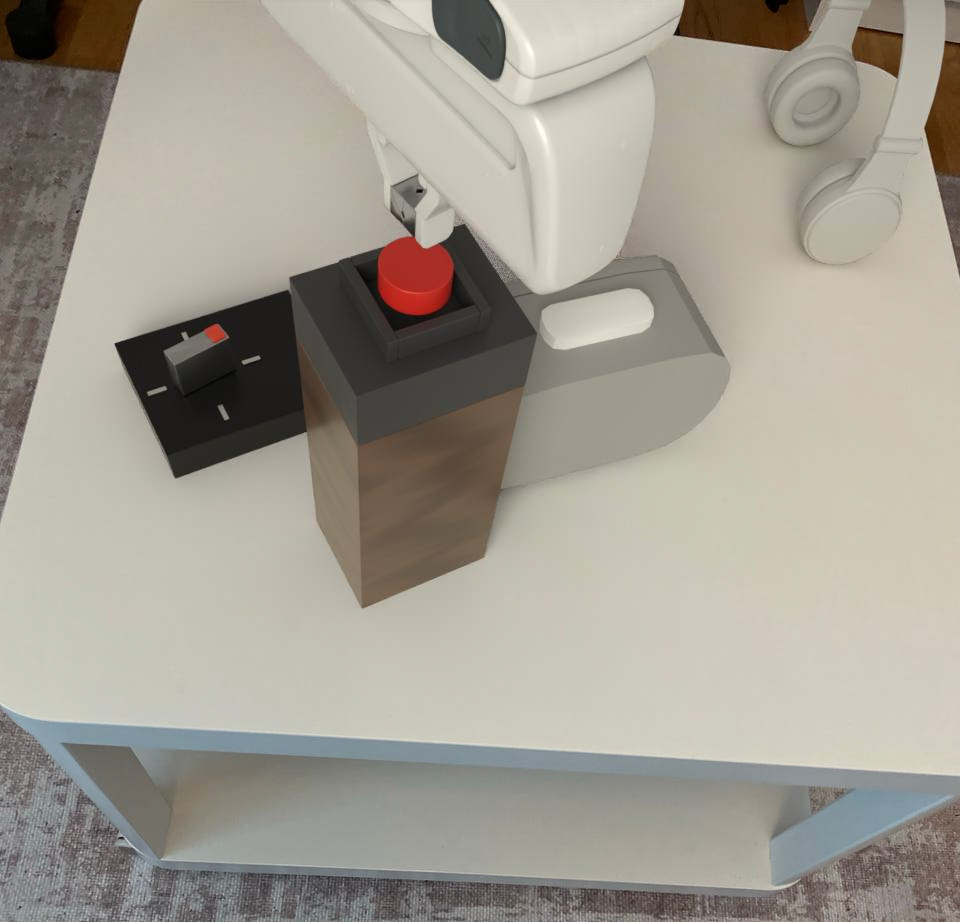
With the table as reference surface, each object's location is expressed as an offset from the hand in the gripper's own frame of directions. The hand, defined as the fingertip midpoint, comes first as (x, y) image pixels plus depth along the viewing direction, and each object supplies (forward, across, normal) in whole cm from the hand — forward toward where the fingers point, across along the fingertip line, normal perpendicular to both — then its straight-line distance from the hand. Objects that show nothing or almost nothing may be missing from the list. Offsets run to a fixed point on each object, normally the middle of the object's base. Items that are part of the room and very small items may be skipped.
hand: (418, 223), depth 41 cm
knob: (+26, -18, -5) cm, 32 cm away
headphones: (+29, -9, +55) cm, 63 cm away
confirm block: (+9, 0, 0) cm, 9 cm away
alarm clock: (+29, -1, +16) cm, 34 cm away
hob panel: (+29, -18, -3) cm, 34 cm away
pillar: (+29, 0, 0) cm, 29 cm away
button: (+4, 0, 0) cm, 4 cm away
